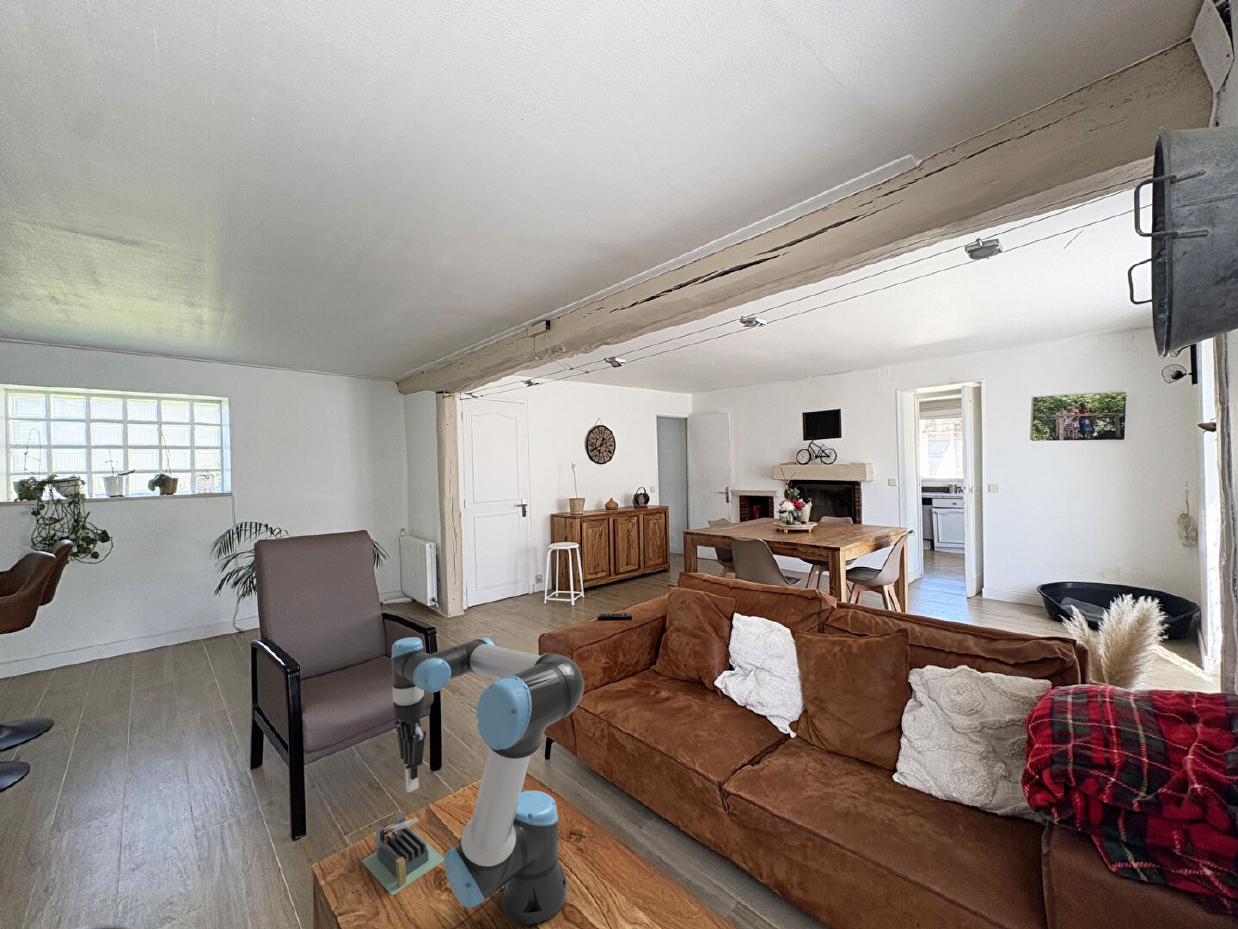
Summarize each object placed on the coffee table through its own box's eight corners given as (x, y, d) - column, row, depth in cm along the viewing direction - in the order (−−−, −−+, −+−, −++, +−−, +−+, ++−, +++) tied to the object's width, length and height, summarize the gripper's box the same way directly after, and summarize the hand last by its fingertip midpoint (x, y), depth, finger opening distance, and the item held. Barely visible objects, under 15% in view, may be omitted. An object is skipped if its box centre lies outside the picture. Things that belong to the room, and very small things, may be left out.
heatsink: (428, 861, 132) (427, 842, 132) (398, 881, 126) (397, 861, 126) (407, 841, 139) (407, 823, 139) (378, 859, 133) (377, 841, 133)
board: (445, 864, 133) (445, 859, 133) (392, 900, 122) (392, 895, 122) (412, 834, 144) (412, 830, 144) (361, 865, 133) (361, 860, 133)
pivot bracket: (405, 843, 139) (404, 817, 139) (380, 858, 134) (379, 831, 134) (401, 839, 140) (400, 813, 140) (376, 854, 135) (375, 827, 135)
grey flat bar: (420, 821, 130) (418, 815, 131) (406, 829, 127) (404, 823, 128) (396, 828, 138) (395, 822, 139) (383, 835, 136) (382, 830, 136)
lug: (406, 883, 125) (405, 859, 125) (399, 888, 124) (398, 863, 124) (402, 880, 126) (402, 856, 126) (396, 884, 125) (395, 860, 125)
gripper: (434, 701, 132) (438, 792, 132) (411, 687, 141) (414, 772, 141) (406, 712, 127) (409, 807, 127) (383, 697, 135) (387, 786, 136)
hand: (412, 789), depth 134 cm, fingers closed
